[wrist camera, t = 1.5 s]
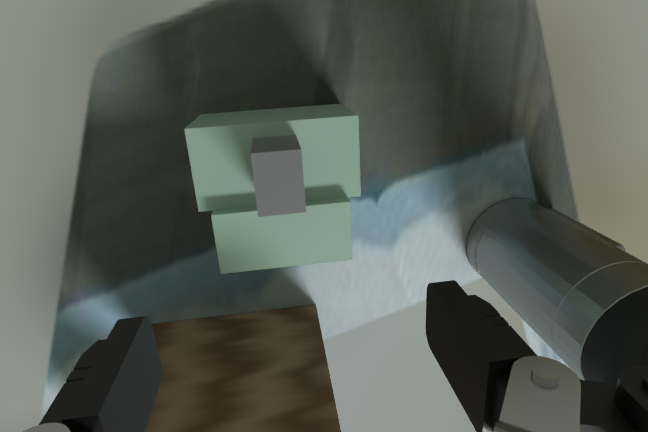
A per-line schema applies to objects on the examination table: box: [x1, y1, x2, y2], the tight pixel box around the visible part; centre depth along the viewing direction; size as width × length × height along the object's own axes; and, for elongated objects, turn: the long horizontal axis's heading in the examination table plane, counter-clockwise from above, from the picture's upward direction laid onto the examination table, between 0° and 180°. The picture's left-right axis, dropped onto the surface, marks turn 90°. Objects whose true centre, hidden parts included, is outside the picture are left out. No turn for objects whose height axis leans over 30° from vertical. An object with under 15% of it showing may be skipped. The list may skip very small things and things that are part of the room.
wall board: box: [145, 305, 341, 432], centre depth 35 cm, size 17×7×20 cm, turn 93°
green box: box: [184, 104, 361, 274], centre depth 33 cm, size 12×11×13 cm
